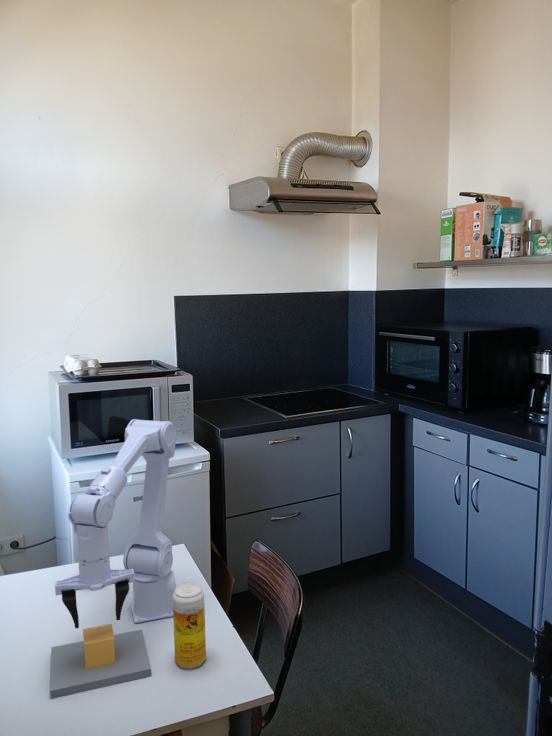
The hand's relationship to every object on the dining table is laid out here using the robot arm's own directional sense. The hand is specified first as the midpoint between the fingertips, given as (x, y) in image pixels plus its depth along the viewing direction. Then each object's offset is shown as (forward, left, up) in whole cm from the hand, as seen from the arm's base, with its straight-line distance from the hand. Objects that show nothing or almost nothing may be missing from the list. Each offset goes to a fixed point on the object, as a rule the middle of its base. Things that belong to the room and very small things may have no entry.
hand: (97, 621), depth 116 cm
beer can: (-17, +5, -9) cm, 20 cm away
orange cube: (0, 0, -8) cm, 8 cm away
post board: (0, 0, -9) cm, 9 cm away
